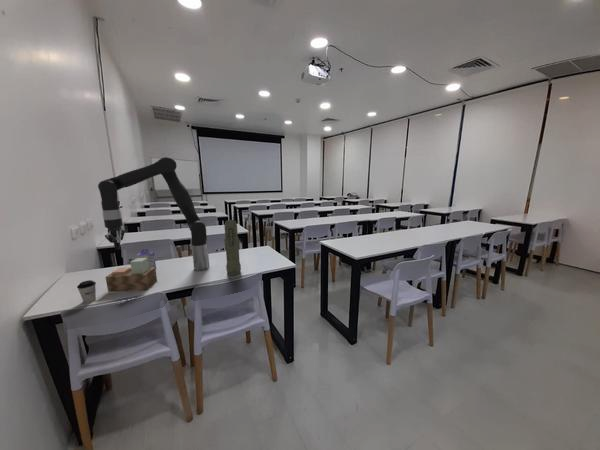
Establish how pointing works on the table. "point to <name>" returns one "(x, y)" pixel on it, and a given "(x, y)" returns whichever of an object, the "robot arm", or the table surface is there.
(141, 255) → the ink cartridge box
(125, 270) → the plunger
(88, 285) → the coffee cup
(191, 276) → the table surface
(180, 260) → the table surface
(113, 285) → the housing
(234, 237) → the green carved pillar
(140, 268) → the plunger
